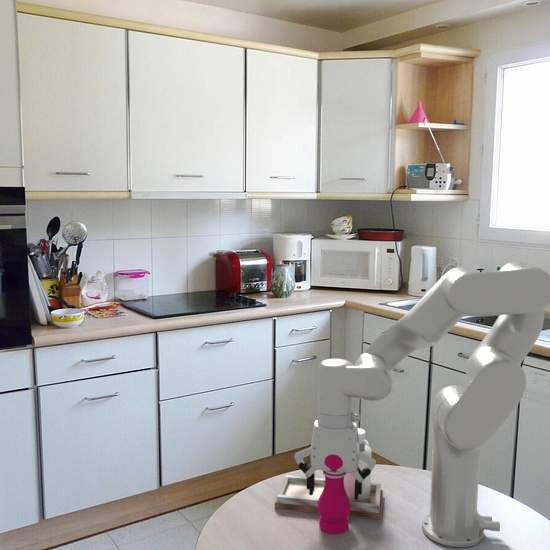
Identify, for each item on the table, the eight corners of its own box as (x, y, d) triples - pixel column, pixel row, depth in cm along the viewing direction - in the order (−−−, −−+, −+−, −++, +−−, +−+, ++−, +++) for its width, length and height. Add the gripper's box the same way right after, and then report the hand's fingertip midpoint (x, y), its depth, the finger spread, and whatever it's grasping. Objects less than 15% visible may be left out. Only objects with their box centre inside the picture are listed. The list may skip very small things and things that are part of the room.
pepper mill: (349, 537, 131) (350, 446, 129) (314, 533, 133) (315, 443, 130) (351, 519, 138) (353, 433, 136) (319, 516, 140) (320, 430, 137)
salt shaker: (371, 493, 147) (372, 437, 146) (369, 507, 141) (370, 449, 139) (342, 490, 149) (343, 435, 147) (340, 504, 142) (341, 447, 140)
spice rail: (382, 495, 149) (383, 484, 149) (381, 519, 139) (381, 506, 138) (283, 486, 154) (283, 474, 154) (274, 508, 143) (274, 496, 143)
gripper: (377, 414, 134) (375, 490, 137) (297, 409, 138) (297, 482, 140) (376, 427, 127) (374, 507, 129) (292, 421, 130) (291, 499, 133)
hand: (334, 494), depth 135 cm, fingers open, 9 cm apart
